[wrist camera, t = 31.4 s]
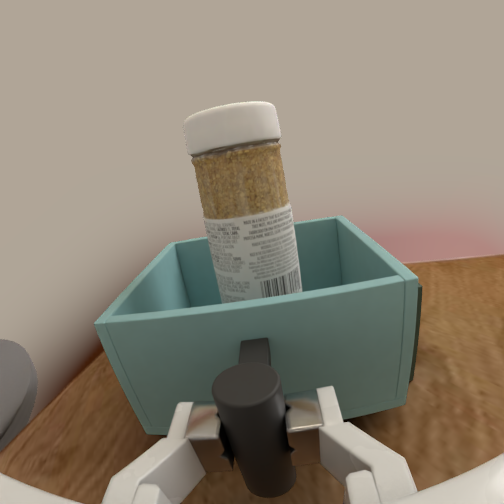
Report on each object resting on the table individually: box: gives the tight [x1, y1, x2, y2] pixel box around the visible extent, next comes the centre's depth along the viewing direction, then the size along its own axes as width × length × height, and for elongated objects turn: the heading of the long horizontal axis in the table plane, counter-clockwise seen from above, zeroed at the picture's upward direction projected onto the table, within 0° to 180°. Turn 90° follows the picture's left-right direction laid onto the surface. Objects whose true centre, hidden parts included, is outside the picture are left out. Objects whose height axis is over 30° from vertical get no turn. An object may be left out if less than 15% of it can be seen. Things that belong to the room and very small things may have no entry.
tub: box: [94, 216, 418, 498], centre depth 15 cm, size 13×16×7 cm
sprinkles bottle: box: [183, 102, 303, 304], centre depth 16 cm, size 5×5×14 cm
